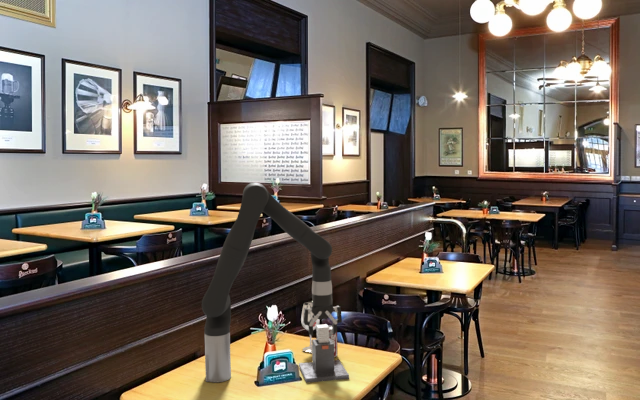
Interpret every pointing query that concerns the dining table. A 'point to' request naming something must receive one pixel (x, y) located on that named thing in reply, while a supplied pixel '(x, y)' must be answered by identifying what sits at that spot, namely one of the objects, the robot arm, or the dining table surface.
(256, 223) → the robot arm
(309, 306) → the wineglass
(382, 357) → the dining table surface
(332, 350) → the stand base
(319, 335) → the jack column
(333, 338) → the soda can
